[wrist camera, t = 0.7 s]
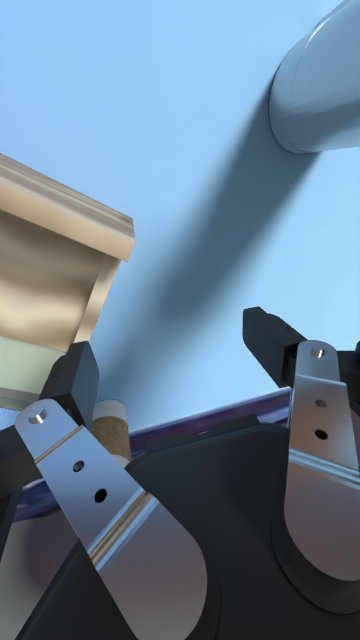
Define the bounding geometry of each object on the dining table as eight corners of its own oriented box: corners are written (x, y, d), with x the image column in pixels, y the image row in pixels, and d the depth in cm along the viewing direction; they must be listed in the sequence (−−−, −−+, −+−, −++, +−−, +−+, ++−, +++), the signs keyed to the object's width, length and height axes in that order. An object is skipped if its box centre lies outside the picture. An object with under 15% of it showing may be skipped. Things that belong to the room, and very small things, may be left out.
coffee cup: (133, 423, 45) (134, 518, 33) (86, 427, 44) (68, 530, 31) (133, 392, 41) (135, 487, 28) (81, 395, 39) (59, 499, 27)
